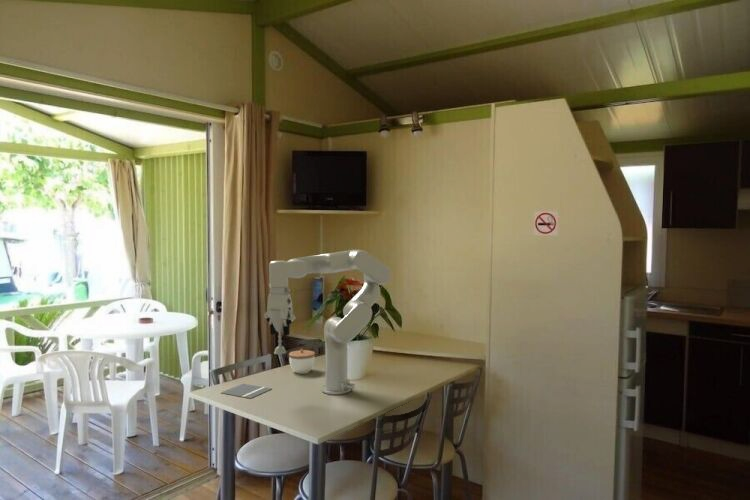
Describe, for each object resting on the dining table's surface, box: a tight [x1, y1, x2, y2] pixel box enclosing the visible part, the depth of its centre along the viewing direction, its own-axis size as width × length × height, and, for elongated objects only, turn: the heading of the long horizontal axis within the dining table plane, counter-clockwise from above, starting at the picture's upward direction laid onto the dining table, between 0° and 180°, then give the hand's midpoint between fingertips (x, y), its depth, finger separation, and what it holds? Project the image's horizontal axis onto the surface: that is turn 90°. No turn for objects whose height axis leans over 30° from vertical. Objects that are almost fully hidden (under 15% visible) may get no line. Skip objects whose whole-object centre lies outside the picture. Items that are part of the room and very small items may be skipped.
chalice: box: [271, 310, 287, 355], centre depth 206 cm, size 7×7×18 cm
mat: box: [220, 383, 273, 400], centre depth 215 cm, size 16×14×1 cm
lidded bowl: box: [288, 348, 316, 375], centre depth 246 cm, size 13×13×11 cm
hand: (279, 334), depth 206 cm, fingers closed on chalice, 5 cm apart
